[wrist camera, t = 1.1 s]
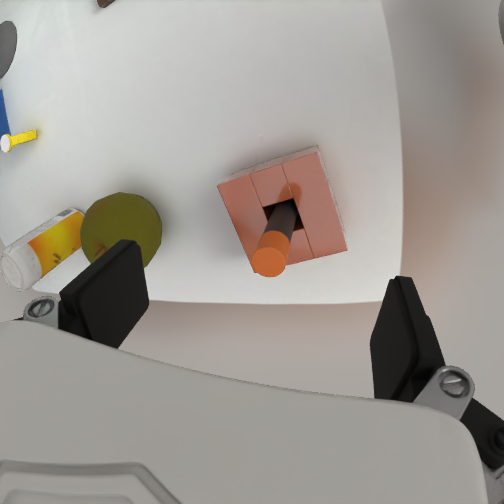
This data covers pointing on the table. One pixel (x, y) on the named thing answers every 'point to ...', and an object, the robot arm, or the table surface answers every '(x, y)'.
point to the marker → (275, 240)
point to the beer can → (41, 250)
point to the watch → (16, 140)
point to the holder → (280, 189)
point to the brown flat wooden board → (104, 3)
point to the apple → (121, 225)
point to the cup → (7, 45)
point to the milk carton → (3, 118)
